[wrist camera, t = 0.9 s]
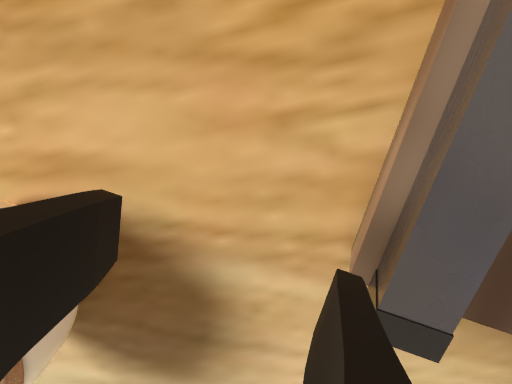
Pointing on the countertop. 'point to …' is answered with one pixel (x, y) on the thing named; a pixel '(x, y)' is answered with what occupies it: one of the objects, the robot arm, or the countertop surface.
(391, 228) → the stool seat
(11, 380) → the lidded jar
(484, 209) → the folding leg
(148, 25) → the countertop surface
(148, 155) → the countertop surface
